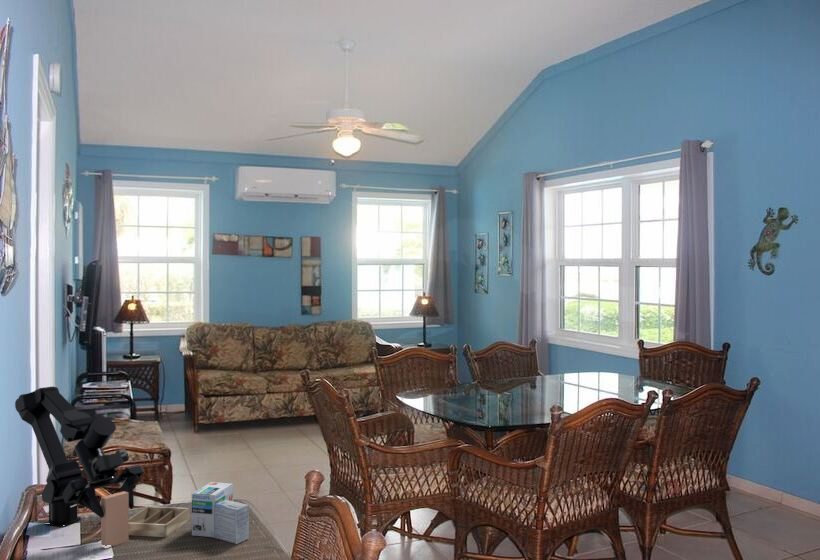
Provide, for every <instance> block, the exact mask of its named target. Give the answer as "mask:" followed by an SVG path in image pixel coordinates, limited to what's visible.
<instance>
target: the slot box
mask: <svg viewBox="0 0 820 560" xmlns="http://www.w3.org/2000/svg"><path fill="white" fill-rule="evenodd" d="M190 513H191V510H190V507H174V506H173V507H172V506H171V507H170V506H152V505H147V506H145V507H144V508H142V509H141V510H139V511H138V512H136V513H135V514H134V515H132V516H130V517H129V536H139V537H140V536H141V537H157V538H158V537H159V538H160V537H161V538H167V537H169V536H170V535H171V534H173V533H174V532H176V531H177V530H178V529H179V528H180V527H182V526H183V525H185V524H186V523H187V522H188V521H189V520H190V518H191V517H190V516H191V514H190Z"/></svg>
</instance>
